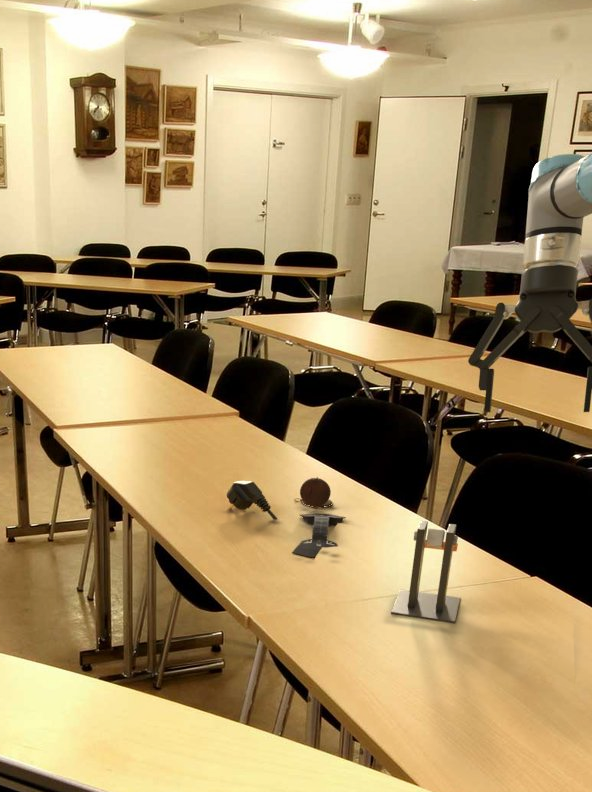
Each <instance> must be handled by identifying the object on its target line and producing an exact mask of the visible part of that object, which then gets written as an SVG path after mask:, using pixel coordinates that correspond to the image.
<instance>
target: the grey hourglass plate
mask: <svg viewBox="0 0 592 792" xmlns="http://www.w3.org/2000/svg"><path fill="white" fill-rule="evenodd" d="M298 516H300V517H301V518H302V517H303V518H302V520H303V521H305V524H307V525H313V527H312V535H311V538H310V539H305V540H301V542H300V543H299V544H298V545H297V546H296V547H295V548H294V549H293V550H292V551H291V554H293V555H298V556H302V557H306V558H308V559H316V558H317V556H318V555H319V553H320V551H321V550H322V548H327V549H328V548H334V547H335V548H337V547H339V545H338V544H337V542H334V541H332V540H329V539H328V533H329V526H331V527H332V526H335V527H336V526H337V525H338V524H340V523H341V522H342V521H343V520H344V519H346V518H347V517H346V516H341V515H336V514H332V513H319V512H318V513H317V512H315V513H302V514H299V515H298Z"/></svg>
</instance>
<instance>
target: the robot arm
mask: <svg viewBox="0 0 592 792" xmlns="http://www.w3.org/2000/svg"><path fill="white" fill-rule="evenodd" d="M527 193H528V198H527V199H528V201H527V213H526V225H525V240H524V248H523V256H522V257H523V258H522V268H523V269H524V271H523V272H522V273H521V278H520V279H521V280H520V288H519V289H520V290H519V297H518V298H519V299H518V301H517V303H516V304H505V303H504V302H499V303H497V304H496V306H495V311H494V316H493V318H492V320H491V322H490V323H489V325H488V326H487V328H486V329H485V332H484V333H483V334H482V336H481V338H480V340H479V341H478V343H477V345H476V346H475V347H474V349H473V351H472V352H471V355H470V356H469V357H468V360H467V362H468V364H469V365H470V366H471V367H475V368H476V369H477V368H478V370H479V377H478V389H479V391H485V398H484V408H483V412H484V413H491V412H492V411H491V410H492V400H493V389H494V378H495V369H494V368H491V367H492V366H493V365H494V363H496V362H497V361H498V360H499V359H500V358H501V357H502V355H504V354H505V353H506V352H507V350H508V349H510V347H511V346H512V345H513V344H514V343H516V341H518V339H519V338H520V337H522V336H523V335H524V334H525V333H526V332H529V333H532V334H539V333H550V334H551V333H556V332H558V331H560V330H562V331H563V332H564V333H565V334H566V335H567V336H568V337H569V338H570V340H571V341H572V342H573V343H574V344H575V345H576V347H577V348H578V349H579V350H580V351H581V352H582V353H583V355H584V356H585V357H586V358H587V359H588V360H589V361H590V362H591V363H592V344H591V343H590V342H589V341H588V340H587V339H586V338H585V336H584V335H583V334H582V333H581V332H580V331H579V329H578V328H577V327H576V325H575V324H574V323H573V322H572V321H571V318H572V317H573V316H574V315H575V314H576V312H577V311H578V310H579V311H581V312H582V314H583V315H584V316H588V318H589V321H590V324H591V325H592V298H590V299H589V300H581V301H577V298H576V294H577V286H578V285H577V284H578V276H579V275H578V274H579V270H578V268H576V266H577V265H578V264H579V263H580V255H581V245H582V234H583V224H584V218H585V217H587V216H590V215H592V152H590V153H589V154H588V155H586V156H584V155H582V154H577V153H563V154H557V155H553V156H551V157H545V158H543V159H541V160H540V161H538V162H537V163H536V164H535V165H534V167H533V168H532V172H531V179H530V185H529V188H528V192H527ZM514 313H515V316H516V317H517V318H518V319H519V322H518V323H517V324H516V325H515V326H514V327H513V329H512V330H511V331H510V332H509V333H508V334H507V335H506V336H505V337H504V338H503V339H502V340H501V341H500V342H499V344H498V345H496V346H495V347H494V349H492V351H490V353H489V354H488V355H487V356H485V358H484V359H482V357H483V355H484V354H485V352H486V351H487V349H488V347H489V345H490V344H491V343H492V340H493V339H494V337H495V336H496V334H497V332H498V331H499V329H500V327H501V326H502V324H503V322H504V320H508V319H509V318H510V316H511V315H512V314H514ZM586 374H587V375H586V384H585V391H584V392H585V394H584V402H583V403H584V404H583V410H582V411H583V413H590V412H591V404H592V403H591V401H592V365H591V366H587V373H586Z"/></svg>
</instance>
